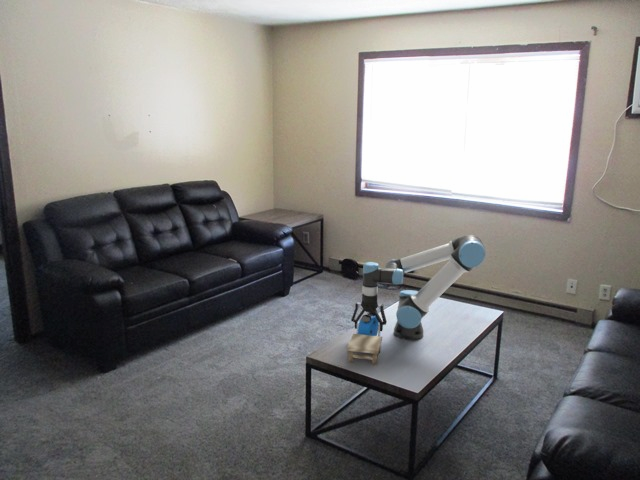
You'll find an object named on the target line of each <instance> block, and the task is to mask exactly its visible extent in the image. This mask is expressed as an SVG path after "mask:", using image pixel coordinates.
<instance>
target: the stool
mask: <svg viewBox="0 0 640 480" xmlns="http://www.w3.org/2000/svg"><path fill="white" fill-rule="evenodd" d="M382 342H383V336H381V335H380V336H378V335H377V336H371V335H362V334H357V333H352V336H351V339H350V340H349V343H348V345H347V347H346V350H347V351H348V363H353V362H354V358H355V359H361V360H363V359H364V360H371V362H372V366H377V364H378V354H380V353H381V346H382ZM354 352H357V353H366V354H367V353H368V354H372V355H362V354H354Z"/></svg>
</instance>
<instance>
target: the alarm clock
mask: <svg viewBox="0 0 640 480" xmlns="http://www.w3.org/2000/svg"><path fill="white" fill-rule="evenodd" d="M378 326H379V322H378V320H377V318H376V317H375V315H374V314H373V312H366V314H363V315H362V316H361V317H360V319H359V326H358V334H362V335H371V336H378Z"/></svg>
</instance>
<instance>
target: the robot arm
mask: <svg viewBox="0 0 640 480" xmlns="http://www.w3.org/2000/svg"><path fill="white" fill-rule="evenodd" d="M485 259H486V248H485V246H484V245H483V242H482V240H481V239H480V238H479V236H476V235H474V234H467V235H463V236H460V237H456V238H454V239H451V240H450V241H449V242H448V243H445V244H442V245H438V246H436V247H432V248H429V249H426V250H423V251H421V252H418V253H414V254H411V255H408V256H405V257H401V258H398V259H394V258H393V259H390V260H388V261H387V262H386V264H385V267H380V265H379V263H378V262H374V261H368V262H364V264H363V267H362V285H361V286H362V289H361V301H360V302H358V301H357V302H355V305H354V306H355V309H354V311H353V313H352V316H351V320H350V321H351V322H353V323H354V329H355V330H356V334H358V326H359V323H360V320H361V318H362V316H363V315H364V313H365V312H366V313H368V312H373V314H374V315H375V317H376V318H377V320H378V322H379V326H378V333H377V336H381V332H383V328H384V327H383V326H384V325H387V318H386V315H385V309H384V304H379V302H378V291H379V289H378V288H379V284H386V285H387V284H388V285H394V286H395V285H403V283H404V274H405V273H409V272H412V271H416V270H419V269H422V268H425V267H428V266H432V265H435V264H438V263H441V262H445V261H448V262H446V263H445V264H444V265H443V266H442V267H441V268H440V269H439V270H438V272H437V273H436V274H434V276H432V277H431V278H430V279H429V280H428V281H427V282H426V284H424V285H423V286H422V287H421V288H420V289H419V291H418V290H411V289H410V290H409V289H407V290H400V292H399V295H398V304H397V311H396V313H395V314H396V320H397V321H396V322H395V325H394V328H393V335H394V336H395V337H397V338H400V339H403V340H409V341H410V340H413V341H414V340H419V339H421V338H423V337H424V333H425V331H424V327H423V324H422V319H423V318H424V317H425V316H426V315H427V314H428V313H429V312H430V307H431V305H433V303H434V302H436V300H438V298H440V297H441V296H442V294H444V293H445V292H446V291H447V290H448V289H449V288H450V287H451V286H452V285H453V284H454V283H455V282H456V281H457V280H458V279H459V278H460V277H462V275H463V274H464V273H470V271H472V270H473V269H474V268H477V267H479V266H480V265H481V264H482V263H483V262H484V261H485ZM360 307H362V310H361V311H360V313H359V314H358V315H357V317H356V314H357V313H358V309H359V308H360ZM377 308H378V310H379V311H380V314H379V313H378V311H377ZM380 315H381V316H380Z"/></svg>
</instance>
